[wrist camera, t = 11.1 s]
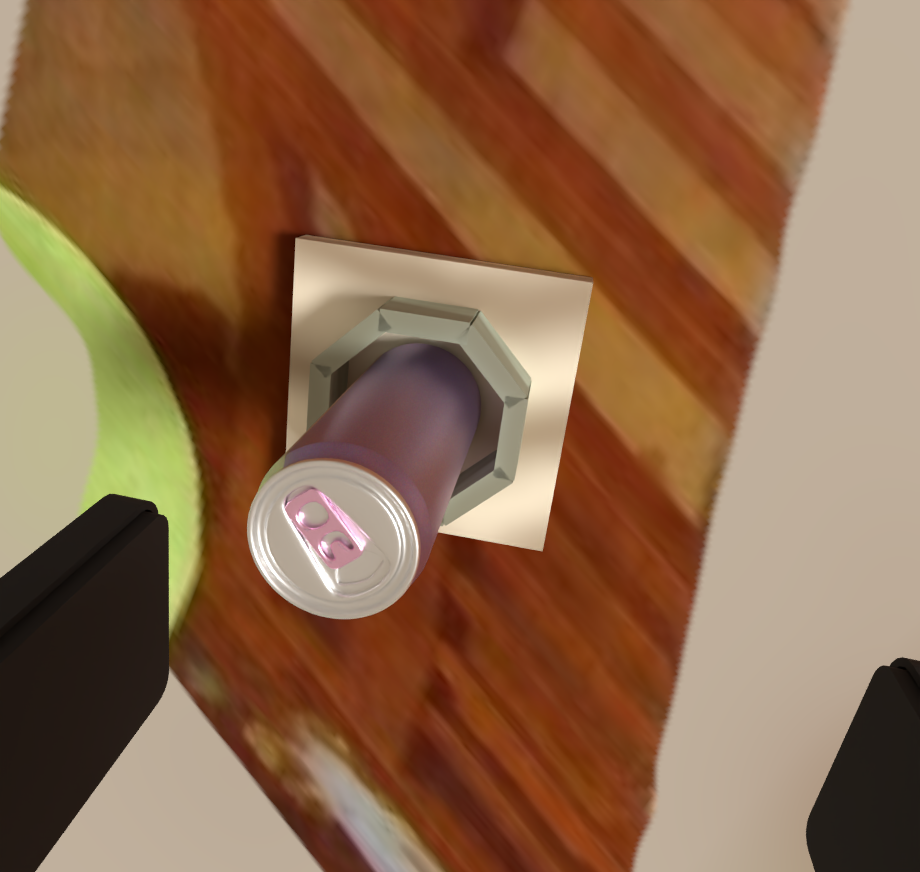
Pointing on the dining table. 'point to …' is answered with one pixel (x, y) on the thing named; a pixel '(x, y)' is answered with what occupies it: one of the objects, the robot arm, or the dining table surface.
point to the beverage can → (367, 486)
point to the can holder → (469, 339)
